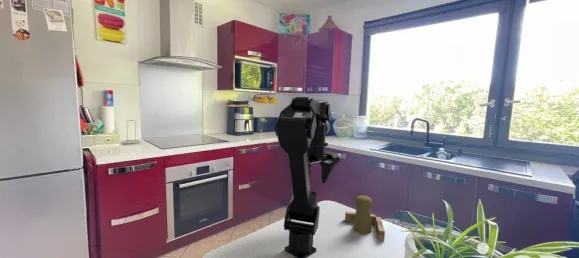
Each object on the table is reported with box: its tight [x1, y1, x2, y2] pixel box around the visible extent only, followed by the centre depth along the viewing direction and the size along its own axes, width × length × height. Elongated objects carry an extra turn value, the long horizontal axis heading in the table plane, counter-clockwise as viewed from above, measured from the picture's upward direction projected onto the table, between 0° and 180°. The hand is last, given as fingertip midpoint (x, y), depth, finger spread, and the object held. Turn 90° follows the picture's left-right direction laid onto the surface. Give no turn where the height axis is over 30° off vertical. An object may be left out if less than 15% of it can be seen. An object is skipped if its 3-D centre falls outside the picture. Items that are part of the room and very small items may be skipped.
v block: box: [344, 210, 386, 242], centre depth 87 cm, size 8×16×3 cm, turn 33°
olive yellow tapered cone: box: [352, 195, 373, 235], centre depth 84 cm, size 6×6×11 cm
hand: (314, 186), depth 86 cm, fingers open, 9 cm apart
